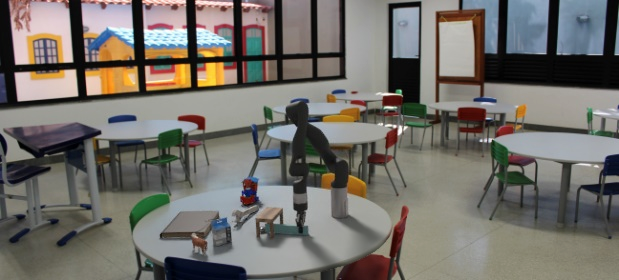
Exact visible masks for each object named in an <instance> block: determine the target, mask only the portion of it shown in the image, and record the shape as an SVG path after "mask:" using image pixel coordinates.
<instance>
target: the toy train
mask: <svg viewBox="0 0 619 280" xmlns="http://www.w3.org/2000/svg"><path fill="white" fill-rule="evenodd" d="M240 183H241V184H242V187H243V188H242V189H243V190H241V195H240V196H239V198H240V201H239V202H240V203H242V204H243V205H250V204H254V203H255V202H256V201H258V200H259V199H260V196H258V195H257V193H258V185H259V184H258V183H259V178H257V177H254V176H249V177H245V178H244V179H243V180H242V181H241V182H240Z"/></svg>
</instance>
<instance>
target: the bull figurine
mask: <svg viewBox="0 0 619 280" xmlns="http://www.w3.org/2000/svg"><path fill="white" fill-rule="evenodd" d="M191 236H192V238H191V243H192V248H193V249H192V252H195V251H196V250H195V248H196V247H197V251H202V253H201V256H204V253H207V252H208V241H207V240H205V239H203V238H199V237H197V236H198V234H197V235H196V234H195V233H193V234H192V235H189V237H191Z"/></svg>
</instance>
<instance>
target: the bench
mask: <svg viewBox="0 0 619 280" xmlns="http://www.w3.org/2000/svg"><path fill="white" fill-rule="evenodd" d="M278 218H279V224H284V208H283V207H276V206H274V207H272V206H267V207H265V208H264V209H263V210H262V211H261V212H260V213H259V214H258V215H257V216H256V217H255V233H256V235H255V236H256V238H258V239H260V238H261V233H260V227H261V225H260V223H265V224H266V223H270V233H269V238H270V239H271V240H274V239H275V233H274V225H273V224H274V222H275V221H276V219H278Z"/></svg>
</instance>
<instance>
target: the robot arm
mask: <svg viewBox="0 0 619 280" xmlns="http://www.w3.org/2000/svg"><path fill="white" fill-rule="evenodd" d="M284 110H285V114H286V116H287V118H288V119H289V120H290V122H291V123H292V124H293V125H294V126H295V127H296V130H295V133H294V134H293V138H292V141H291V160H290V163H289V167H288V174H289V175H290V177H295V178H296V177H297V178H298V177H299V178H300V177H302V178H300V179H297V180H294V181H293V182H292V208H293V210H294V212H296V215H295V216H296V218H295V220H294V221H295V225H297V227H298V228H299V233H300V234H302V233H303V226H305V223H306V217H307V211H308V208H309V206H308V203H309V202H308V199H309V198H308V189H307V188H308V183H307V182H308V177H309V174H310V170H311V167H310V165H309V164H308V162H297V161H298V160H302V159H305V158H306V155H307V152H306V151H307V150H306V149H307V148H306V147H307V146H306V142H307V141H308V143H309V145H311V148H313V150H314V151H315V152H316V153H317V154H318V156H319V157H320V158H321V159H322V161H323V163H324V165H325V166H326V168H327V170H328V171H329V172H330V173H332V174H334V179H333V180H331V181H330V211H331V212H330V213H331V214H330V215H331V217H332V218H336V219H343V218H347V217H348V215H349V198H348V183H349V178H350V176H349V174H350V173H349V172H350V167H349V163H348V161H347V160H346V159H343V158H339V157H338V156H337V154H335V153H334V152H333V151H332V149H331V146H330V141H329V140H328V138H327V136H326V134H325V133H324V132H323V131H322V130H321V129H320V128H319V127H317V126H315V125H314V124H312V123H310V122H309V114H310V108H309V105H308V103H307V102H306V101H305V100H298V101H295V102H291V103H289V104H287V105H286V106H285V109H284Z"/></svg>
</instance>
